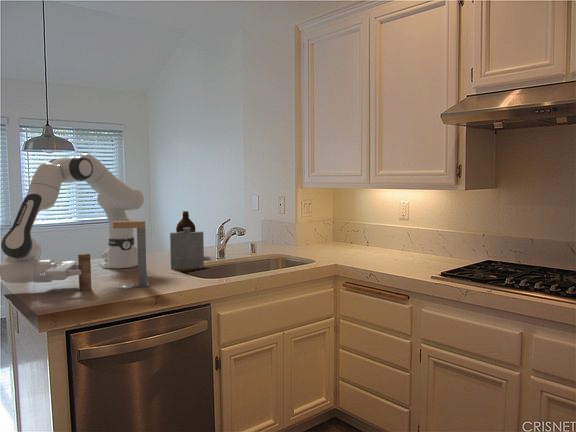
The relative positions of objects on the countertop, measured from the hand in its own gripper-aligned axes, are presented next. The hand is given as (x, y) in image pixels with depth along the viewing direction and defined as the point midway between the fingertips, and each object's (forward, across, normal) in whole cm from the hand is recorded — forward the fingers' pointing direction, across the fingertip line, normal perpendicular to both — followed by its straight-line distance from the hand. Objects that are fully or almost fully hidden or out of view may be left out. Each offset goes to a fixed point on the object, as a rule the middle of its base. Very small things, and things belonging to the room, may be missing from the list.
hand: (84, 269), depth 185 cm
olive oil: (+38, +75, +8) cm, 84 cm away
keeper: (+18, +2, +8) cm, 20 cm away
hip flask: (+39, +36, +8) cm, 54 cm away
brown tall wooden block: (0, 0, +8) cm, 8 cm away
